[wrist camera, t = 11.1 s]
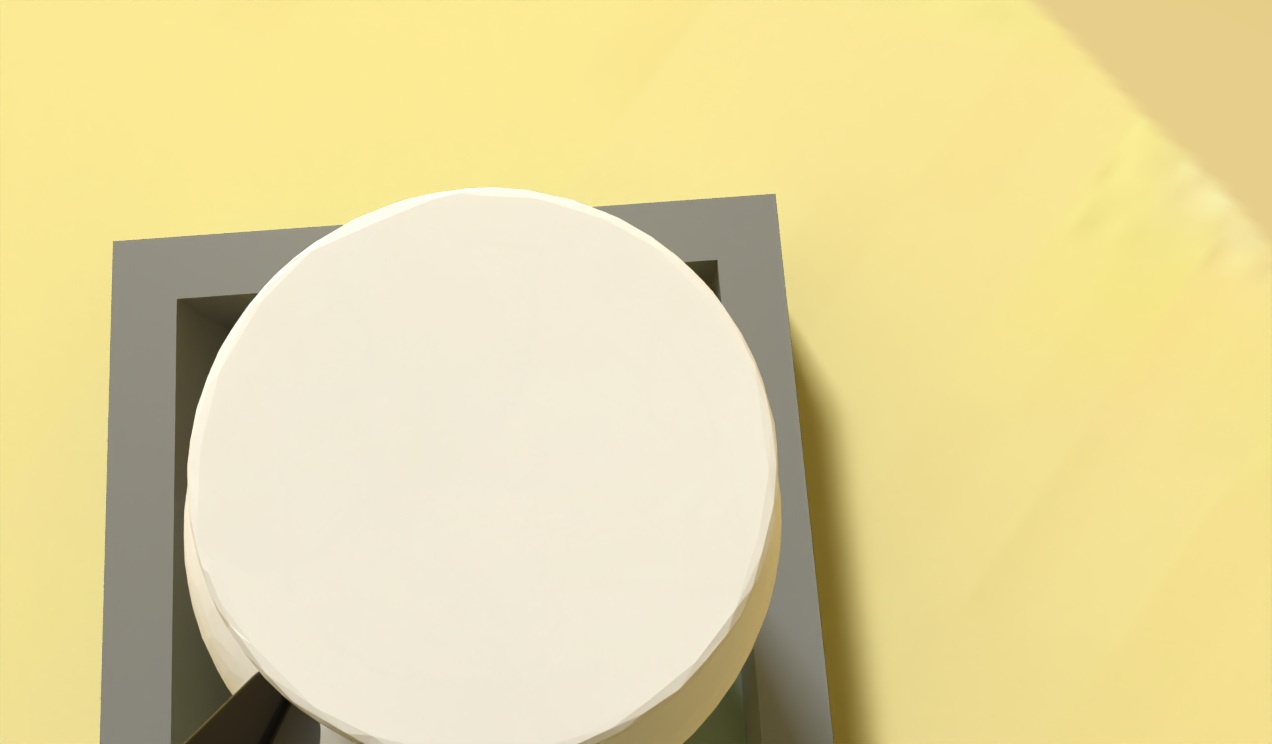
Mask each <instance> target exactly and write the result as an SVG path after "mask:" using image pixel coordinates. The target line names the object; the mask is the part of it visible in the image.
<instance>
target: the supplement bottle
mask: <svg viewBox="0 0 1272 744" xmlns="http://www.w3.org/2000/svg"><path fill="white" fill-rule="evenodd" d="M187 479H188V486H187V493H186V501H185V508H184V558H185V567H186V574H187V580H188V587H189V592H190V597H191V602H192V607H193V610H194V613H195V617H196V620H197V623H198V626H199V630H200V633H201V636H202V639H203V641H204V643H205V645H206V647H207V649H208V651H209V654H210V656H211V658H212V660H213V662H214V664H215V666H216V669H217V670H218V672H219V674H220V676H221V678H222V679H223V681H224V683H225V685H226V686H227V688H228V689H229V691H230V692H231V694H232V695H234V694H235V693H236V692H237V691H238V690H239V689H240V688H241V687H242V686H243V685H244V684H245V683H246V682H247V681H248V680H249V679H250V678H251V677H252V676H253V675H254V674H255V673H257V672H258V671H259V672H260V673H261V674H262V675H263V677H264V678H265V679H266V680H267V681H268V682H269V683H270V684H271V685H272V686H273V687H274V688H275V689H276V690H278V691H279V692H280V693H281V694H282V695H283V696H284V697H285V698H286V699H287V700H289V701H290V702H291V703H292V704H294V705H295V706H296V707H297V708H298V709H300V710H301V711H303V712H304V713H306V714H307V715H309V716H310V717H312V718H313V719H315V720H316V721H318V722H319V723H320V726H321V737H320V744H683V743H684V742H685V741H686V740H687V739H688V738H689V737H690V736H692V735H693V734H694V733H695V731H696V730H697V729H698V728H699V727H700V726H701V724H702V723H703V722H704V721H705V720H706V719H707V718H708V716H709V715H710V714H711V713H712V712H713V711H714V709H715V708H716V707H717V705H718V704H719V703H720V701H721V700H722V698H723V697H724V695H725V694H726V693H727V691H728V690H729V688H730V687H731V686H732V684H733V683H734V681H735V680H736V678H737V676H738V674H739V672H740V671H741V669H742V667H743V665H744V663H745V662H746V660H747V658H748V656H749V654H750V652H751V650H752V648H753V646H754V643H755V641H756V638H757V636H758V633H759V631H760V628H761V626H762V624H763V621H764V619H765V616H766V613H767V610H768V607H769V604H770V600H771V596H772V592H773V588H774V584H775V579H776V573H777V566H778V560H779V554H780V542H781V495H780V487H779V480H778V454H777V441H776V431H775V423H774V419H773V416H772V412H771V408H770V405H769V401H768V398H767V394H766V390H765V387H764V383H763V380H762V377H761V375H760V372H759V369H758V367H757V364H756V362H755V359H754V357H753V355H752V353H751V351H750V349H749V347H748V345H747V343H746V341H745V340H744V338H743V336H742V334H741V332H740V330H739V329H738V327H737V326H736V324H735V323H734V321H733V320H732V318H731V317H730V315H729V314H728V312H727V311H726V309H725V308H724V306H723V305H722V304H721V302H720V301H719V299H718V298H717V297H716V295H715V294H714V293H713V291H712V290H711V289H710V288H709V287H708V286H707V285H706V284H705V282H704V281H703V280H702V279H701V278H700V277H699V276H698V275H697V274H696V273H695V272H694V271H693V270H692V269H691V268H690V267H688V266H687V265H686V264H685V263H684V262H683V261H682V260H681V259H680V258H679V257H678V256H677V255H675V254H674V253H673V252H671V251H670V250H669V249H667V248H666V247H665V246H663V245H662V244H661V243H659V242H658V241H657V240H655V239H654V238H653V237H651V236H649V235H648V234H646V233H644V232H642V231H641V230H639V229H637V228H636V227H634V226H632V225H630V224H629V223H627V222H625V221H623V220H622V219H620V218H618V217H615V216H613V215H611V214H608V213H606V212H603V211H600V210H598V209H595V208H592V207H590V206H587V205H584V204H582V203H579V202H576V201H574V200H571V199H566V198H562V197H557V196H553V195H548V194H544V193H539V192H534V191H530V190H521V189H508V188H468V189H460V190H453V191H446V192H438V193H432V194H428V195H423V196H419V197H415V198H410V199H406V200H403V201H400V202H397V203H394V204H392V205H389V206H386V207H383V208H381V209H378V210H376V211H373V212H371V213H368V214H366V215H363V216H361V217H358V218H356V219H354V220H352V221H350V222H349V223H347V224H345V225H343V226H342V227H340V228H338V229H337V230H335V231H333V232H331V233H330V234H328V235H326V236H325V237H323V238H321V239H320V240H318V241H316V242H315V243H313V244H312V245H311V246H309V247H308V248H307V249H305V250H304V251H303V252H301V253H300V254H299V255H297V256H296V257H295V258H293V259H292V260H291V261H290V262H289V263H288V264H287V265H285V266H284V267H283V268H282V269H281V270H280V271H279V272H278V273H277V274H276V275H275V276H273V278H272V279H271V280H270V281H269V282H268V283H267V284H266V285H265V286H264V287H263V289H262V290H261V291H260V292H259V293H258V295H257V296H256V297H255V298H254V299H253V301H252V302H251V303H250V304H249V305H248V307H247V308H246V310H245V311H244V312H243V314H242V315H241V317H240V318H239V320H238V321H237V323H236V324H235V325H234V327H233V328H232V330H231V331H230V333H229V335H228V336H227V338H226V340H225V341H224V343H223V345H222V346H221V348H220V350H219V352H218V354H217V356H216V359H215V361H214V363H213V366H212V368H211V370H210V373H209V375H208V377H207V380H206V383H205V386H204V389H203V392H202V395H201V397H200V400H199V403H198V406H197V409H196V414H195V419H194V424H193V429H192V434H191V440H190V447H189V456H188V464H187Z"/></svg>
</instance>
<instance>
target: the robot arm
mask: <svg viewBox="0 0 1272 744" xmlns="http://www.w3.org/2000/svg"><path fill="white" fill-rule="evenodd" d="M320 737H321V726H320V723H319V722H318V721H316V720H315V719H313V718H312V717H310V716H309V715H307V714H306V713H304V712H303V711H301V710H300V709H298V708H297V707H296V706H295V705H294V704H292V703H291V702H290V701H289V700H287V699H286V698H285V697H284V696H283V695H282V694H281V693H280V692H279V691H278V690H276V689H275V688H274V687H273V686H272V685H271V684H270V683H269V682H268V681H267V680H266V679H265V678H264V677H263V675H262V674H261V673H260V672H259V671H258V672H257V673H255V674H254V675H253V676H252V677H251V678H250V679H249V680H248V681H247V682H246V683H245V684H244V685H243V686H242V687H241V688H240V689H239V690H238V691H237V692H236V693H235V694H234V695H233V696H232V697H231V698H230V699H229V700H228V701H227V702H225V703H224V704H223V705H222V706H221V707H220V708H219V709H218V710H217V711H216V712H215V713H214V714H213V715H212V716H211V717H210V718H209V719H208V720H207V721H206V722H205V723H204V724H203V725H202V726H201V727H200V728H199V729H198V730H197V731H196V732H195V733H194V734H193V735H192V736H191V737H190V738H189V739H188V740H187V741H185V742H184V743H183V744H320Z"/></svg>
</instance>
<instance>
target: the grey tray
mask: <svg viewBox="0 0 1272 744" xmlns="http://www.w3.org/2000/svg"><path fill="white" fill-rule="evenodd" d="M592 208H595V209H598V210H600V211H603V212H606V213H608V214H611V215H613V216H615V217H618V218H620V219H622V220H623V221H625V222H627V223H629V224H630V225H632V226H634V227H636V228H637V229H639V230H641V231H642V232H644V233H646V234H648V235H649V236H651V237H653V238H654V239H655V240H657V241H658V242H659V243H661V244H662V245H663V246H665V247H666V248H667V249H669V250H670V251H671V252H673V253H674V254H675V255H677V256H678V257H679V258H680V259H681V260H682V261H683V262H684V263H685V264H686V265H687V266H688V267H690V268H691V269H692V270H693V271H694V272H695V273H696V274H697V275H698V276H699V277H700V278H701V279H702V280H703V281H704V282H705V284H706V285H707V286H708V287H709V288H710V289H711V290H712V291H713V293H714V294H715V295H716V297H717V298H718V299H719V301H720V302H721V304H722V305H723V306H724V308H725V309H726V311H727V312H728V314H729V315H730V317H731V318H732V320H733V321H734V323H735V324H736V326H737V327H738V329H739V330H740V332H741V334H742V336H743V338H744V340H745V341H746V343H747V345H748V347H749V349H750V351H751V353H752V355H753V357H754V359H755V362H756V364H757V367H758V369H759V372H760V375H761V377H762V380H763V383H764V387H765V390H766V394H767V398H768V401H769V405H770V408H771V412H772V416H773V419H774V423H775V431H776V441H777V454H778V480H779V487H780V495H781V542H780V554H779V560H778V566H777V573H776V579H775V584H774V588H773V592H772V596H771V600H770V604H769V607H768V610H767V613H766V616H765V619H764V621H763V624H762V626H761V628H760V631H759V633H758V636H757V638H756V641H755V643H754V646H753V648H752V650H751V652H750V654H749V656H748V658H747V660H746V662H745V663H744V665H743V667H742V669H741V671H740V672H739V674H738V676H737V678H736V680H735V681H734V683H733V684H732V686H731V687H730V688H729V690H728V691H727V693H726V694H725V695H724V697H723V698H722V700H721V701H720V703H719V704H718V705H717V707H716V708H715V709H714V711H713V712H712V713H711V714H710V715H709V716H708V718H707V719H706V720H705V721H704V722H703V723H702V724H701V726H700V727H699V728H698V729H697V730H696V731H695V733H694V734H693V735H692V736H690V737H689V738H688V739H687V740H686V741H685V742H684V743H683V744H834V742H833V732H832V723H831V713H830V704H829V695H828V685H827V676H826V666H825V657H824V647H823V638H822V629H821V619H820V610H819V600H818V591H817V581H816V572H815V563H814V553H813V544H812V534H811V525H810V515H809V506H808V497H807V487H806V478H805V468H804V459H803V449H802V440H801V431H800V421H799V412H798V402H797V393H796V383H795V374H794V365H793V355H792V346H791V336H790V327H789V317H788V308H787V299H786V289H785V280H784V270H783V261H782V251H781V242H780V233H779V223H778V214H777V204H776V195H775V194H767V195H753V196H739V197H726V198H712V199H698V200H684V201H670V202H656V203H642V204H628V205H614V206H600V207H592ZM342 226H343V225H336V226H322V227H308V228H294V229H280V230H266V231H252V232H238V233H224V234H210V235H196V236H182V237H168V238H155V239H141V240H127V241H113V265H112V303H111V341H110V379H109V417H108V455H107V493H106V530H105V568H104V606H103V644H102V682H101V720H100V744H183V743H184V742H185V741H187V740H188V739H189V738H190V737H191V736H192V735H193V734H194V733H195V732H196V731H197V730H198V729H199V728H200V727H201V726H202V725H203V724H204V723H205V722H206V721H207V720H208V719H209V718H210V717H211V716H212V715H213V714H214V713H215V712H216V711H217V710H218V709H219V708H220V707H221V706H222V705H223V704H224V703H225V702H227V701H228V700H229V699H230V698H231V697H232V696H233V695H232V694H231V692H230V691H229V689H228V688H227V686H226V685H225V683H224V681H223V679H222V678H221V676H220V674H219V672H218V670H217V669H216V666H215V664H214V662H213V660H212V658H211V656H210V654H209V651H208V649H207V647H206V645H205V643H204V641H203V639H202V636H201V633H200V630H199V626H198V623H197V620H196V617H195V613H194V610H193V607H192V602H191V597H190V592H189V587H188V580H187V574H186V567H185V558H184V508H185V501H186V493H187V486H188V479H187V464H188V456H189V447H190V440H191V434H192V429H193V424H194V419H195V414H196V409H197V406H198V403H199V400H200V397H201V395H202V392H203V389H204V386H205V383H206V380H207V377H208V375H209V373H210V370H211V368H212V366H213V363H214V361H215V359H216V356H217V354H218V352H219V350H220V348H221V346H222V345H223V343H224V341H225V340H226V338H227V336H228V335H229V333H230V331H231V330H232V328H233V327H234V325H235V324H236V323H237V321H238V320H239V318H240V317H241V315H242V314H243V312H244V311H245V310H246V308H247V307H248V305H249V304H250V303H251V302H252V301H253V299H254V298H255V297H256V296H257V295H258V293H259V292H260V291H261V290H262V289H263V287H264V286H265V285H266V284H267V283H268V282H269V281H270V280H271V279H272V278H273V276H275V275H276V274H277V273H278V272H279V271H280V270H281V269H282V268H283V267H284V266H285V265H287V264H288V263H289V262H290V261H291V260H292V259H293V258H295V257H296V256H297V255H299V254H300V253H301V252H303V251H304V250H305V249H307V248H308V247H309V246H311V245H312V244H313V243H315V242H316V241H318V240H320V239H321V238H323V237H325V236H326V235H328V234H330V233H331V232H333V231H335V230H337V229H338V228H340V227H342Z"/></svg>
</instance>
